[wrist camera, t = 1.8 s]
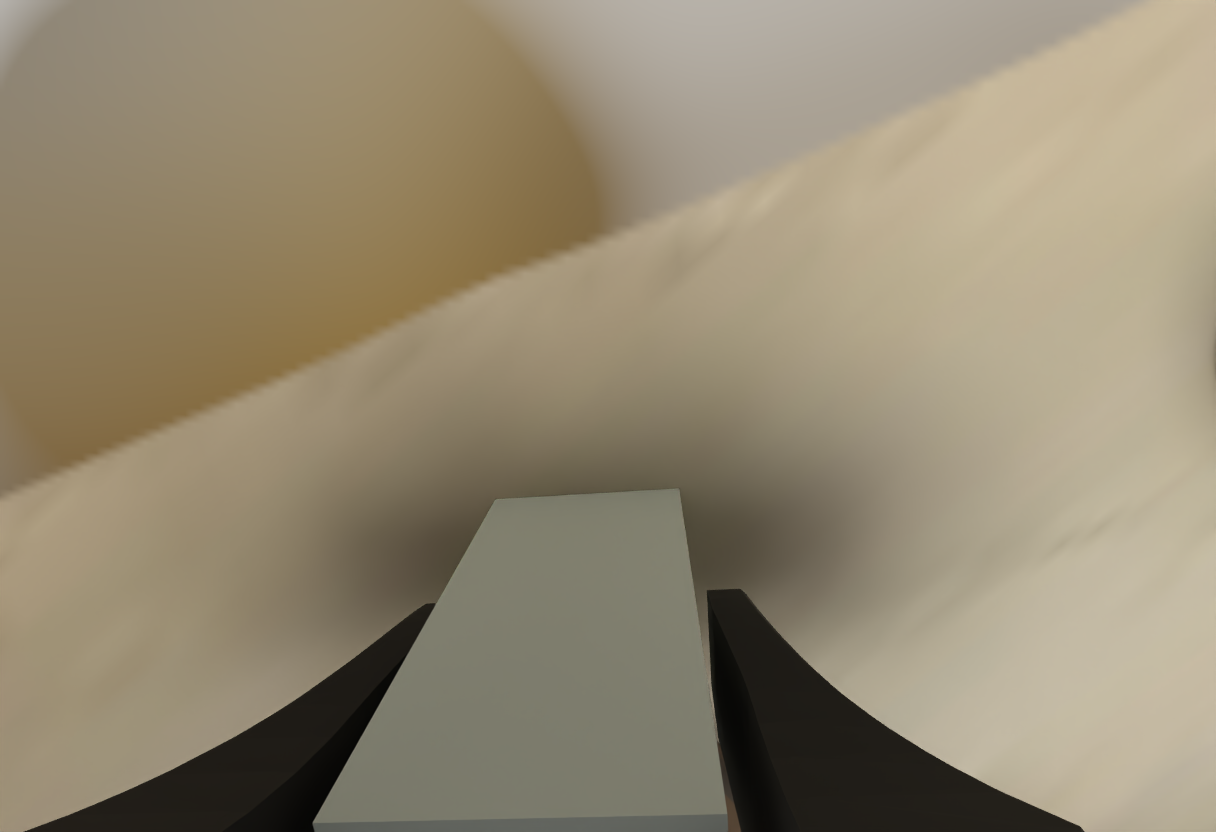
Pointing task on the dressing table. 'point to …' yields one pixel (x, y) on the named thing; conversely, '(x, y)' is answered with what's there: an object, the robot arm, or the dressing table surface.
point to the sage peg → (549, 685)
